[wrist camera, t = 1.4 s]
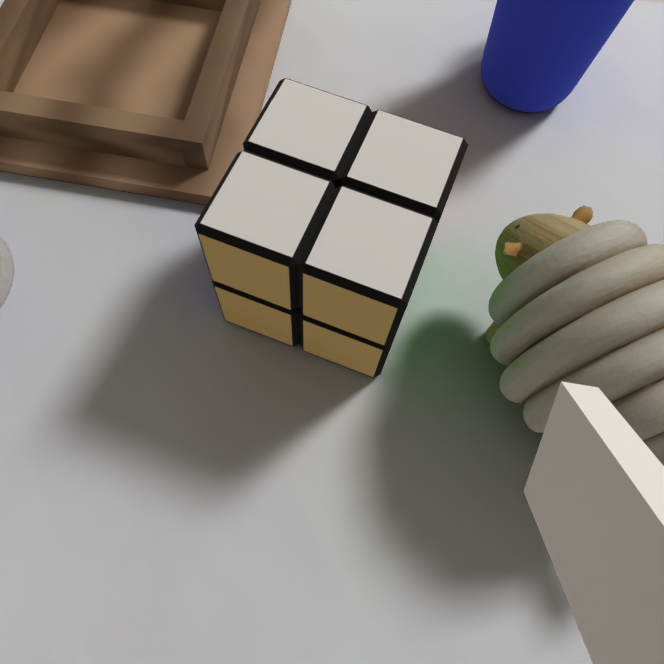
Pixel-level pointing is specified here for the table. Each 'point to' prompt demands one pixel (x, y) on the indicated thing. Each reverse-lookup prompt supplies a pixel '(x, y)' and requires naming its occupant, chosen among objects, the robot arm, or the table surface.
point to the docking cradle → (134, 90)
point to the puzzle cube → (327, 223)
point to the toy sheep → (581, 317)
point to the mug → (544, 48)
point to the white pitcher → (5, 271)
